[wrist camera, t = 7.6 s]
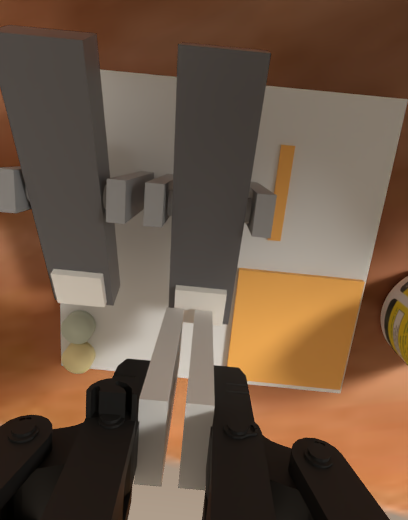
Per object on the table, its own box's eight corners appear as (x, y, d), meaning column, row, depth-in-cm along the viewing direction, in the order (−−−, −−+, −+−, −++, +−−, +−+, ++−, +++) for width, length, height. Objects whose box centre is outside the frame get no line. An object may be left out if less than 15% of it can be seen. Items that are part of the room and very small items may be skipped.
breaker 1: (2, 23, 12) (-28, 32, 10) (102, 33, 12) (85, 42, 10) (61, 280, 19) (48, 304, 17) (124, 286, 19) (115, 311, 17)
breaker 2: (176, 41, 12) (170, 44, 11) (272, 50, 12) (278, 54, 11) (167, 299, 18) (162, 323, 17) (232, 305, 18) (232, 330, 17)
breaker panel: (65, 70, 19) (-26, 19, 12) (396, 102, 19) (507, 70, 12) (68, 355, 24) (4, 443, 17) (334, 381, 24) (386, 481, 17)
